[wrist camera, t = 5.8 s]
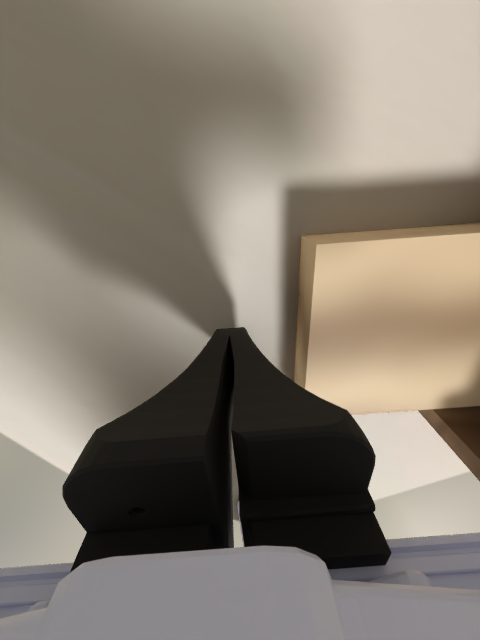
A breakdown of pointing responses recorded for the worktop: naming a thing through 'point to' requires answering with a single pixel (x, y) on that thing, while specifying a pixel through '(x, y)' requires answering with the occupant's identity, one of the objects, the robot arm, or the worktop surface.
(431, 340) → the board
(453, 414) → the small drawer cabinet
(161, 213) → the worktop surface
